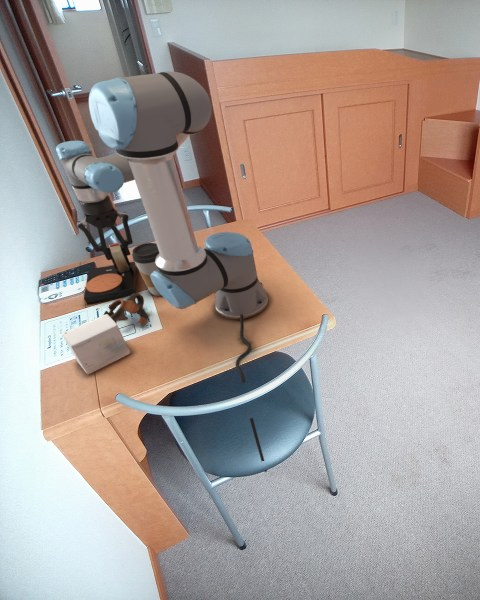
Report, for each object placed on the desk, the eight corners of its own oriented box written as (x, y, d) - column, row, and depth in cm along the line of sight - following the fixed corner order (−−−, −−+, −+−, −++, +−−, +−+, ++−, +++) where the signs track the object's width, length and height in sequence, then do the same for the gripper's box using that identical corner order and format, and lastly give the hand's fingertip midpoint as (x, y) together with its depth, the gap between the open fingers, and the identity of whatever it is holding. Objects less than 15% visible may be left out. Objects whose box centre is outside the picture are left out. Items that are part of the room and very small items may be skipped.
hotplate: (143, 293, 132) (140, 286, 130) (87, 304, 126) (83, 297, 125) (143, 263, 144) (140, 257, 142) (91, 272, 139) (88, 265, 137)
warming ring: (121, 288, 129) (121, 287, 129) (84, 295, 126) (84, 294, 125) (122, 271, 136) (122, 270, 136) (87, 278, 132) (87, 277, 132)
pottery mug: (142, 334, 118) (115, 318, 113) (120, 340, 122) (93, 325, 116) (160, 300, 126) (136, 283, 120) (139, 306, 129) (114, 290, 123)
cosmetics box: (88, 376, 106) (70, 346, 99) (78, 362, 109) (59, 333, 102) (131, 353, 112) (117, 324, 106) (121, 342, 115) (106, 312, 109)
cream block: (129, 270, 136) (121, 250, 131) (120, 273, 135) (111, 252, 130) (127, 262, 140) (118, 242, 135) (117, 264, 138) (108, 244, 134)
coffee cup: (179, 291, 133) (166, 251, 124) (151, 301, 129) (134, 260, 120) (171, 279, 138) (157, 239, 129) (143, 288, 134) (126, 247, 124)
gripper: (122, 187, 128) (147, 253, 143) (59, 198, 121) (92, 267, 135) (127, 196, 124) (152, 263, 138) (61, 209, 116) (95, 278, 131)
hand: (122, 265), depth 137 cm, fingers closed on cream block, 3 cm apart
